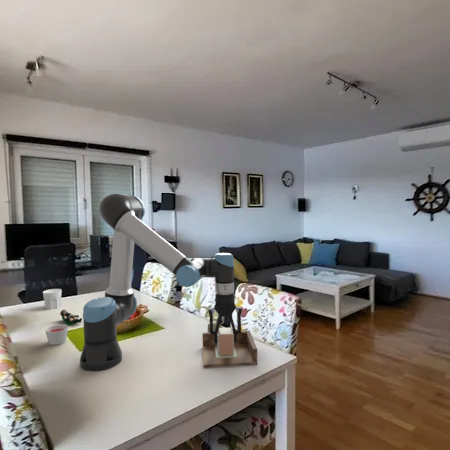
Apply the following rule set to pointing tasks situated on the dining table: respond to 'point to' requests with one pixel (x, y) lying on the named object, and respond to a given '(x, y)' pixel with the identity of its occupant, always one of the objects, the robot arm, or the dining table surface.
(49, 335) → the candle
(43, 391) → the dining table surface
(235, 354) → the sage pad
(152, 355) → the dining table surface
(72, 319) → the figurine
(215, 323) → the stone block
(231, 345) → the terracotta block
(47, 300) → the cup
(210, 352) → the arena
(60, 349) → the dining table surface
